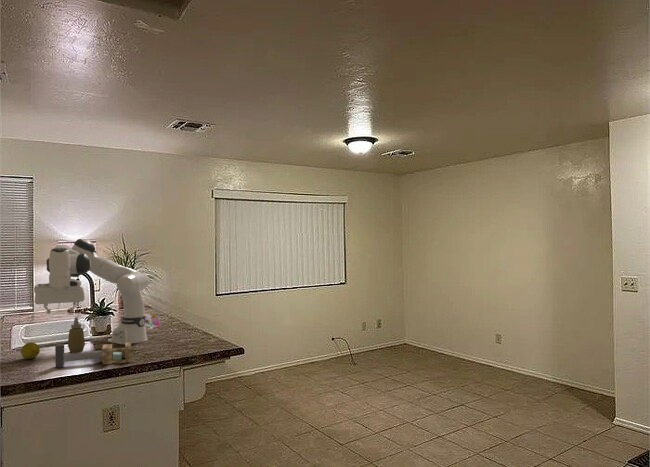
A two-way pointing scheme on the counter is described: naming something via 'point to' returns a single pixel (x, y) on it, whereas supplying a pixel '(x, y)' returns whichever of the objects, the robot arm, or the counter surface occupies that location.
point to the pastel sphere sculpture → (151, 321)
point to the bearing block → (108, 351)
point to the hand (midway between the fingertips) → (60, 312)
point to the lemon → (30, 350)
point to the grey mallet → (73, 355)
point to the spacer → (117, 356)
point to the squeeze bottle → (76, 338)
